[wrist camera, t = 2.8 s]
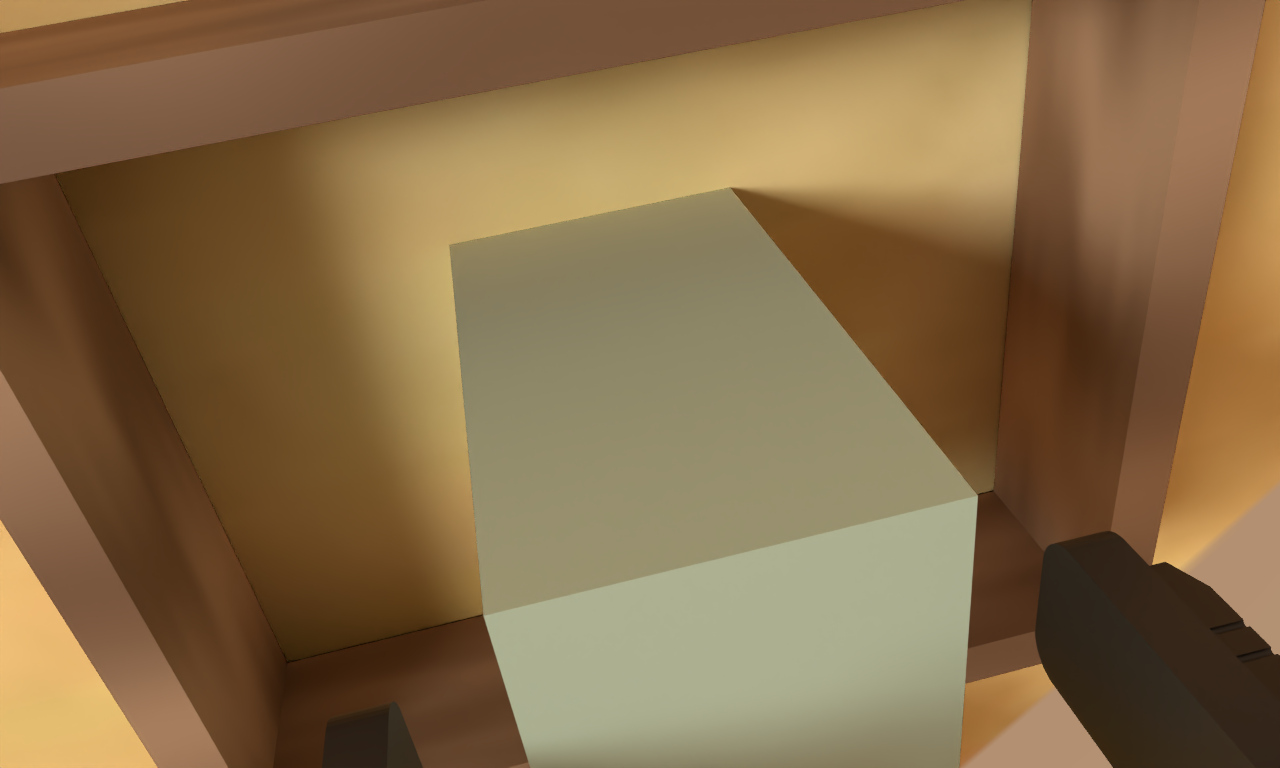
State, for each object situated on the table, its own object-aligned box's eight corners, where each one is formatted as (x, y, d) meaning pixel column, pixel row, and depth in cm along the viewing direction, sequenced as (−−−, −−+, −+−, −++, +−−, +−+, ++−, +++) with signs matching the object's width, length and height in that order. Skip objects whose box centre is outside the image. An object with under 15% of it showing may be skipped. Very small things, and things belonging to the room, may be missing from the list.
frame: (-86, 49, 14) (-246, 132, 10) (1103, -161, 16) (1295, -148, 12) (256, 705, 21) (227, 877, 18) (1030, 514, 23) (1137, 638, 20)
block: (449, 245, 17) (483, 616, 9) (730, 187, 17) (977, 495, 10) (509, 473, 20) (572, 904, 12) (750, 418, 20) (956, 799, 12)
